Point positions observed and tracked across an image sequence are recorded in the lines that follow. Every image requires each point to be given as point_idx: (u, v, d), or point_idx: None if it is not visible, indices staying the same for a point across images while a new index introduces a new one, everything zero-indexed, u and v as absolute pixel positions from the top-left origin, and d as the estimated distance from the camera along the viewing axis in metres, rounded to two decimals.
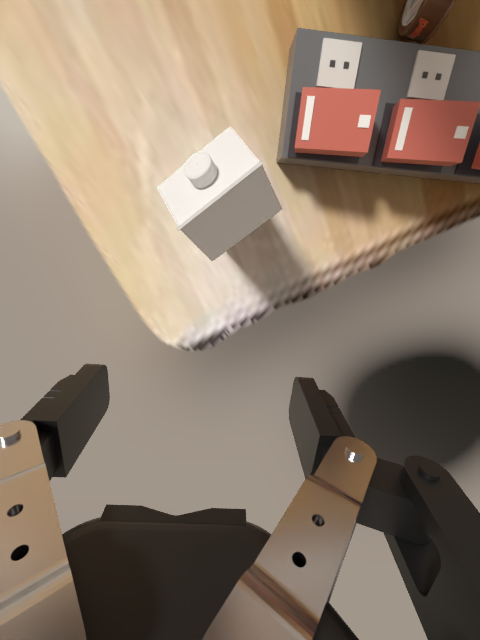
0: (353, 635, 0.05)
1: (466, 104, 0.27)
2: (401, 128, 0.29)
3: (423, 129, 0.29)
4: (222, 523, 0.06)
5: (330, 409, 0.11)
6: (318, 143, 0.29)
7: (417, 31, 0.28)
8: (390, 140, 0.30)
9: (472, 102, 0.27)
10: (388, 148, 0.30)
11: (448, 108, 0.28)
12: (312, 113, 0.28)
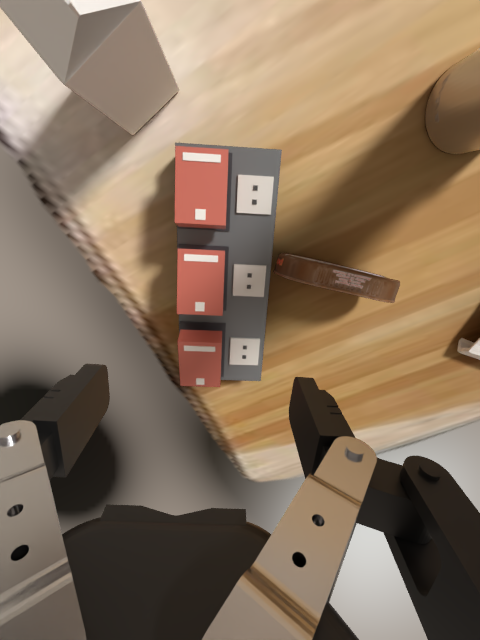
0: (353, 635, 0.05)
1: (220, 305, 0.32)
2: (201, 256, 0.31)
3: (201, 275, 0.32)
4: (222, 523, 0.06)
5: (330, 409, 0.11)
6: (180, 171, 0.28)
7: (278, 261, 0.35)
8: None
9: (222, 310, 0.33)
10: (186, 249, 0.32)
11: (217, 292, 0.32)
12: (206, 161, 0.28)
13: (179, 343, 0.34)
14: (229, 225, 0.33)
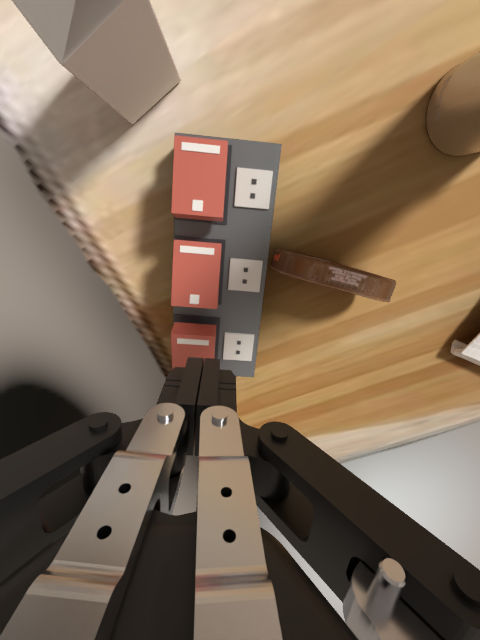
0: (353, 635, 0.05)
1: (215, 298, 0.32)
2: (198, 248, 0.31)
3: (196, 267, 0.32)
4: None
5: (226, 385, 0.12)
6: (178, 161, 0.28)
7: (274, 256, 0.34)
8: (189, 241, 0.31)
9: (217, 303, 0.32)
10: None
11: (212, 285, 0.32)
12: (205, 152, 0.28)
13: (172, 335, 0.33)
14: (227, 218, 0.33)
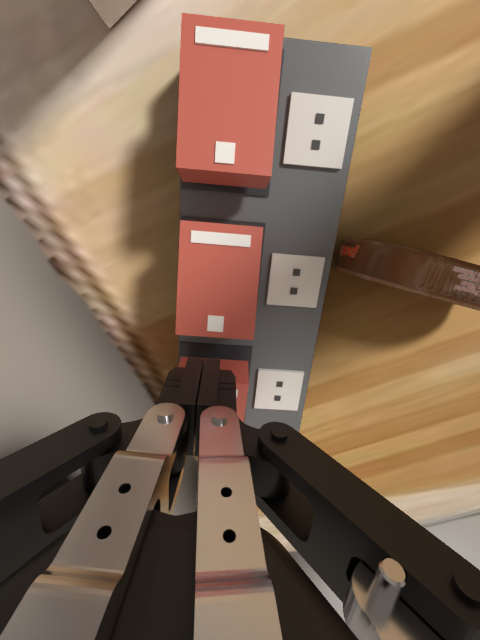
0: (353, 635, 0.05)
1: (251, 321, 0.19)
2: (222, 236, 0.18)
3: (220, 269, 0.18)
4: None
5: (226, 385, 0.12)
6: (189, 66, 0.15)
7: (345, 250, 0.21)
8: None
9: (254, 330, 0.19)
10: None
11: (247, 299, 0.18)
12: (240, 48, 0.15)
13: None
14: (269, 186, 0.20)
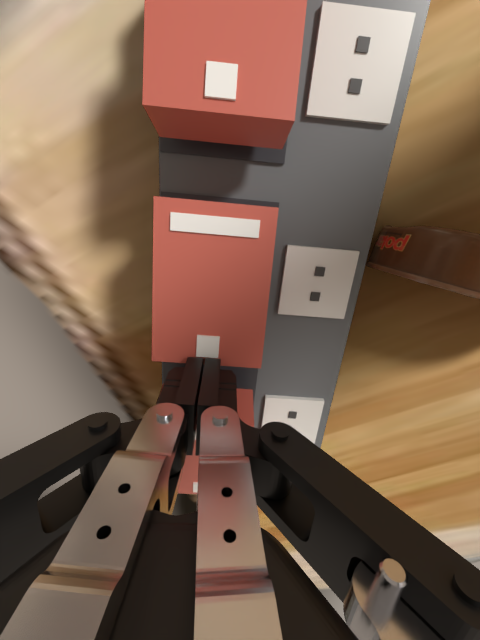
0: (353, 635, 0.05)
1: (258, 343, 0.13)
2: (217, 221, 0.12)
3: (214, 270, 0.12)
4: None
5: (227, 385, 0.12)
6: None
7: (388, 242, 0.15)
8: None
9: (262, 355, 0.14)
10: None
11: (253, 313, 0.13)
12: None
13: None
14: (285, 149, 0.14)
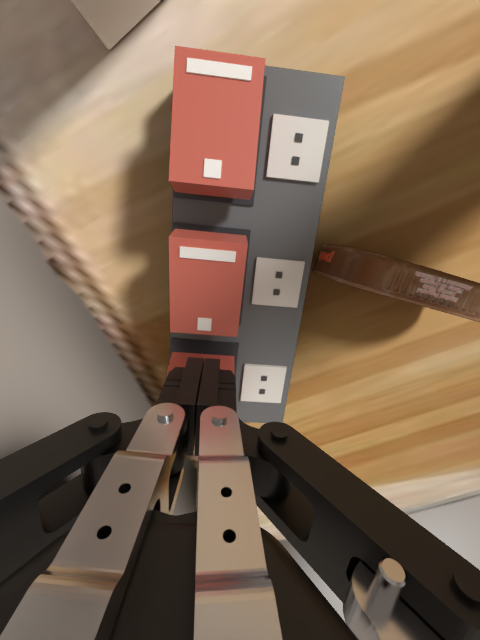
0: (353, 635, 0.05)
1: (235, 323, 0.22)
2: (209, 251, 0.19)
3: (207, 280, 0.20)
4: None
5: (226, 385, 0.12)
6: (181, 92, 0.17)
7: (323, 255, 0.23)
8: (194, 238, 0.19)
9: (237, 328, 0.22)
10: (183, 236, 0.19)
11: (232, 305, 0.21)
12: (226, 77, 0.16)
13: None
14: (253, 196, 0.21)
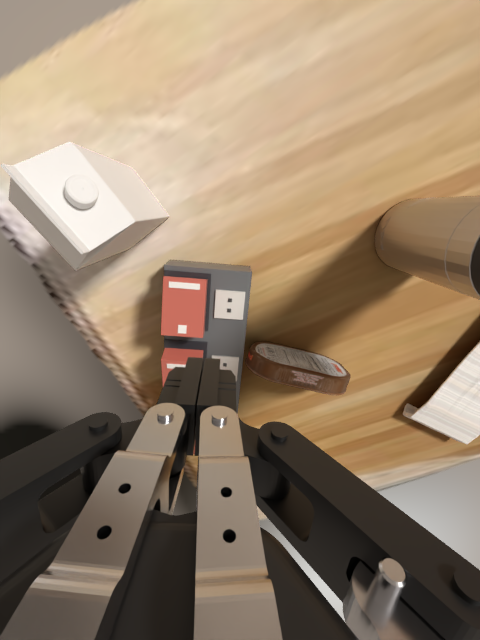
0: (353, 635, 0.05)
1: None
2: (182, 365, 0.37)
3: None
4: None
5: (226, 385, 0.12)
6: (166, 296, 0.35)
7: (249, 354, 0.41)
8: (174, 359, 0.37)
9: None
10: (168, 358, 0.37)
11: None
12: (187, 288, 0.35)
13: None
14: (208, 326, 0.40)
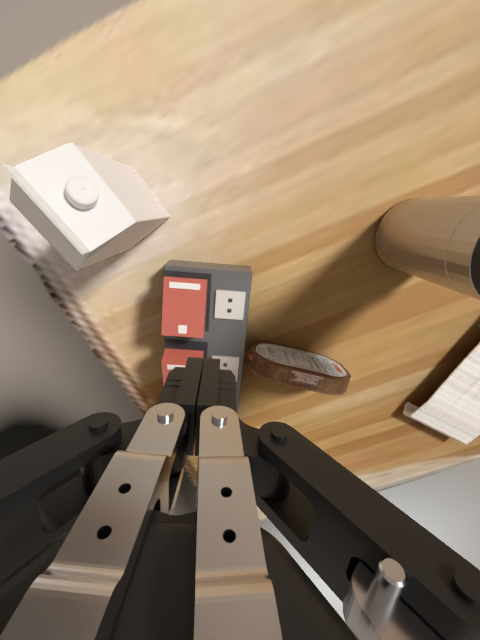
0: (353, 635, 0.05)
1: None
2: (182, 366, 0.37)
3: None
4: None
5: (226, 385, 0.12)
6: (166, 296, 0.35)
7: (249, 354, 0.41)
8: (174, 360, 0.37)
9: None
10: (168, 359, 0.37)
11: None
12: (188, 289, 0.35)
13: None
14: (208, 326, 0.40)
